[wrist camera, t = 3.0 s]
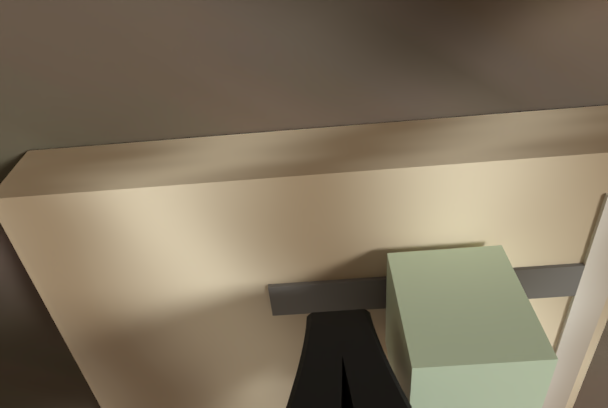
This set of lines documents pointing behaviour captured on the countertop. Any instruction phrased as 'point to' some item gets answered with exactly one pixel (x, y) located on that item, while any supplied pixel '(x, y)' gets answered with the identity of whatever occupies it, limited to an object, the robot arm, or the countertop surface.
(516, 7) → the countertop surface
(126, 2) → the countertop surface
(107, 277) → the control board
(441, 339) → the matte mint cube
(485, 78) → the countertop surface
